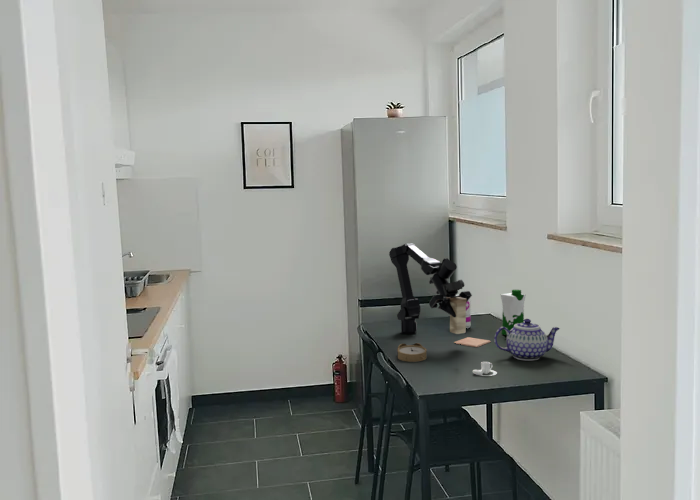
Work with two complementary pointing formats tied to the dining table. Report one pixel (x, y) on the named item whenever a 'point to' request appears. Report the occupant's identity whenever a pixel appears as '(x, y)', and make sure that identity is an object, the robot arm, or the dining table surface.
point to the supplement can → (468, 313)
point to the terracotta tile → (472, 342)
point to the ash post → (458, 315)
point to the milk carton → (512, 309)
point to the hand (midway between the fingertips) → (460, 316)
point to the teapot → (527, 340)
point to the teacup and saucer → (485, 369)
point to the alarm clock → (411, 352)
